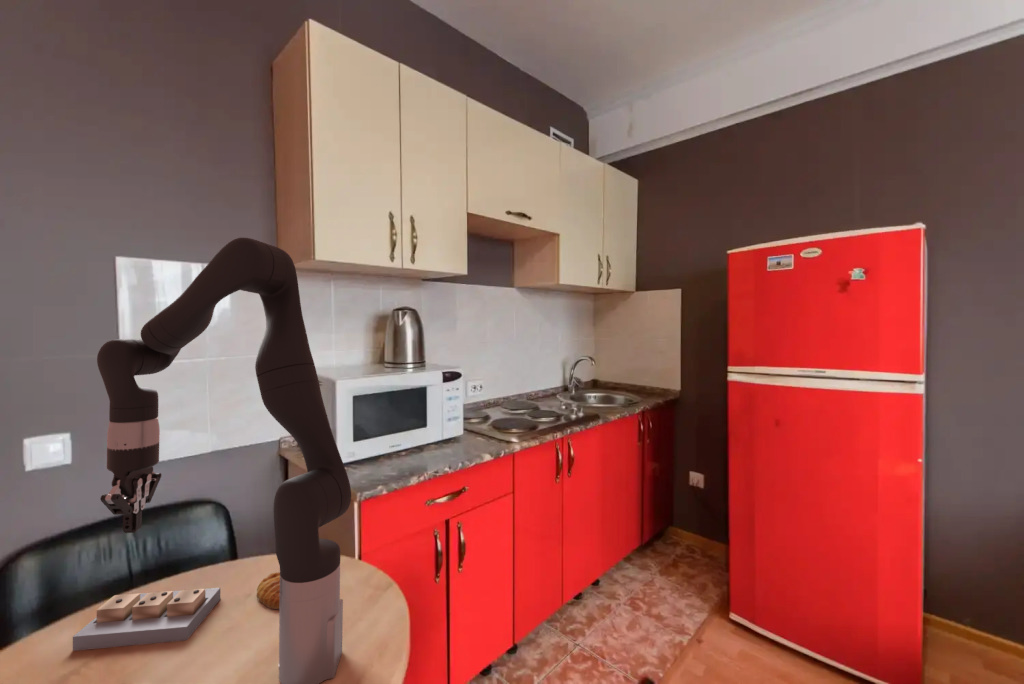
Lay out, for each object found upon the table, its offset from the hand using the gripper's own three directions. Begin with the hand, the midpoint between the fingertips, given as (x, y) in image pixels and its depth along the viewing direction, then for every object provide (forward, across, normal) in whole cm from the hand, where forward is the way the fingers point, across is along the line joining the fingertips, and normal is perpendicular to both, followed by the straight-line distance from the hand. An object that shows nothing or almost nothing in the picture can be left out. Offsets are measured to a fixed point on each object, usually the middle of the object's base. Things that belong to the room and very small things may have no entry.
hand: (132, 530), depth 82 cm
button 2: (+15, -1, -10) cm, 19 cm away
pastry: (+18, +5, -25) cm, 31 cm away
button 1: (+15, -1, +1) cm, 16 cm away
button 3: (+15, -1, -5) cm, 16 cm away
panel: (+18, -1, -5) cm, 18 cm away
